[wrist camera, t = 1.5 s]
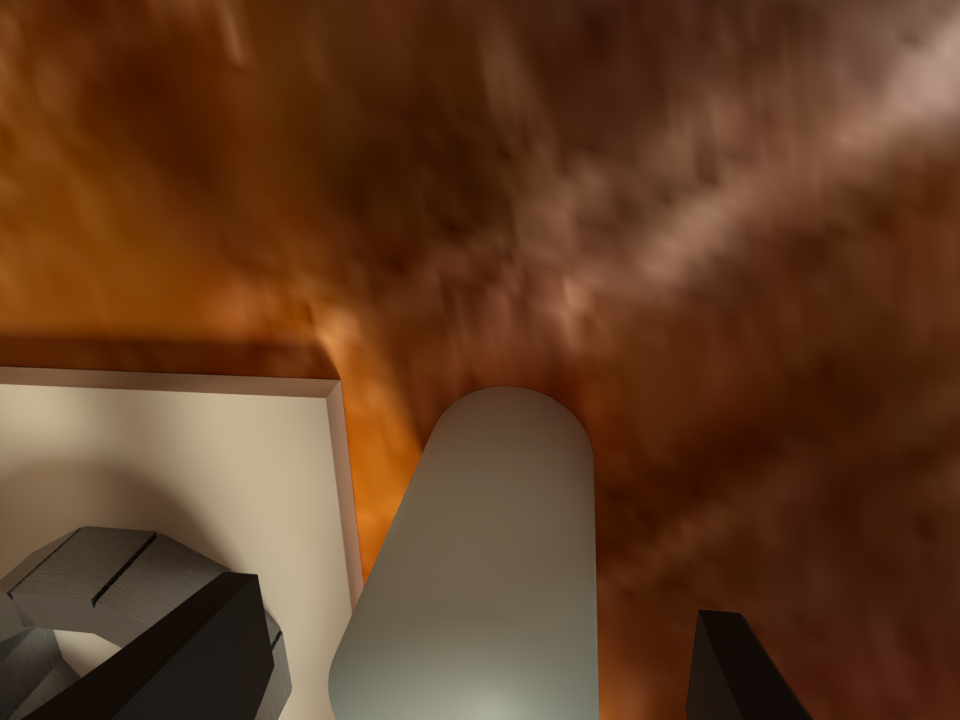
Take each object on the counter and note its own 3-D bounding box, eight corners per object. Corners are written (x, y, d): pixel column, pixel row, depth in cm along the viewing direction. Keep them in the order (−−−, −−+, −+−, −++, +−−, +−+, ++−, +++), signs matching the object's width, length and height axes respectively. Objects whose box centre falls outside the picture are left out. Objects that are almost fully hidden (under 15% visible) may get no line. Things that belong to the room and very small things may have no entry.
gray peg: (597, 389, 15) (605, 614, 9) (590, 536, 17) (593, 818, 10) (423, 382, 16) (312, 589, 9) (431, 525, 17) (342, 787, 11)
